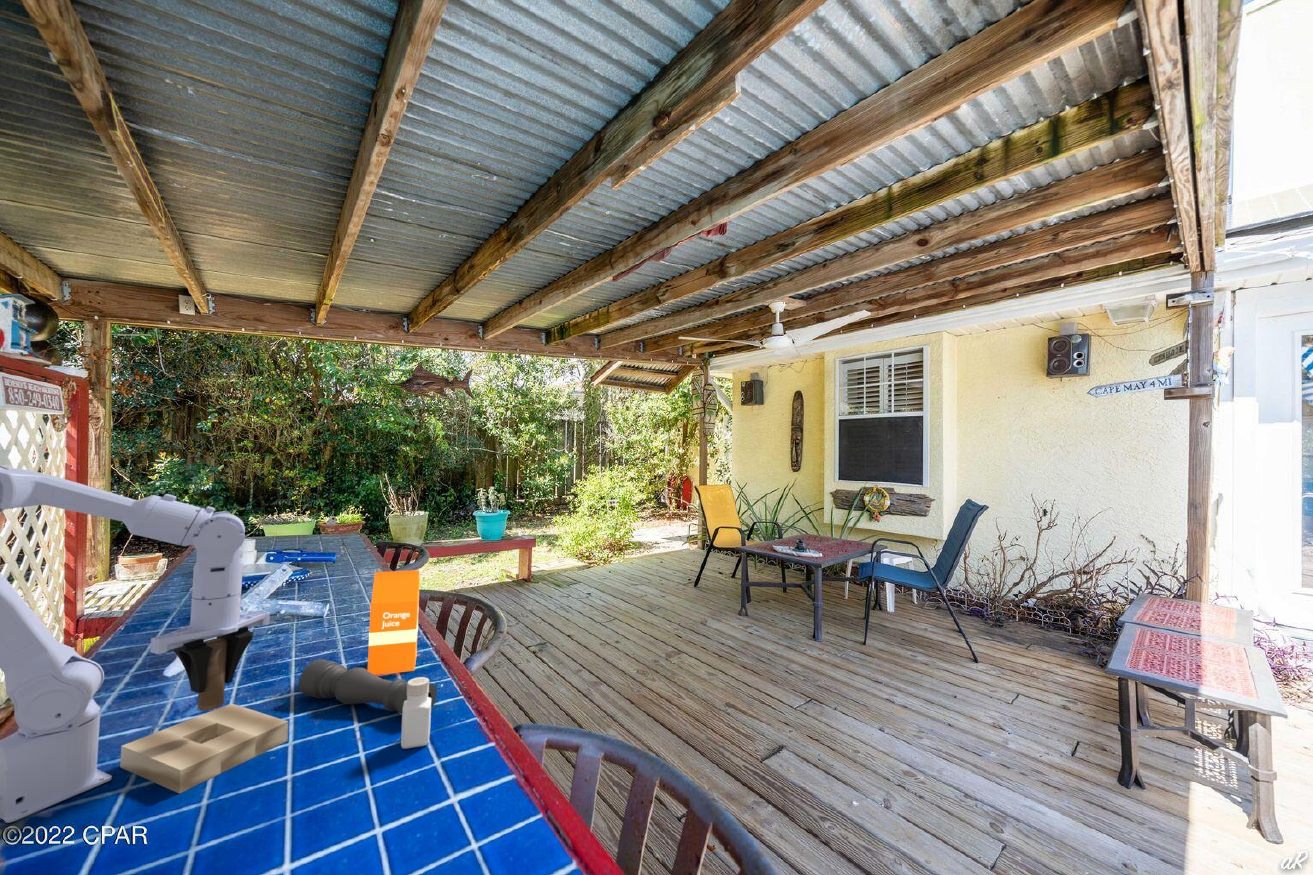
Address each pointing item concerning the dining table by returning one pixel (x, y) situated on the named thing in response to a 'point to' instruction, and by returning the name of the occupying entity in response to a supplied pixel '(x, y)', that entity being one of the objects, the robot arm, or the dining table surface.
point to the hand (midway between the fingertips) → (211, 686)
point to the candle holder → (355, 686)
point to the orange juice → (394, 622)
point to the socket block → (203, 746)
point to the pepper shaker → (416, 714)
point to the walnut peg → (214, 676)
